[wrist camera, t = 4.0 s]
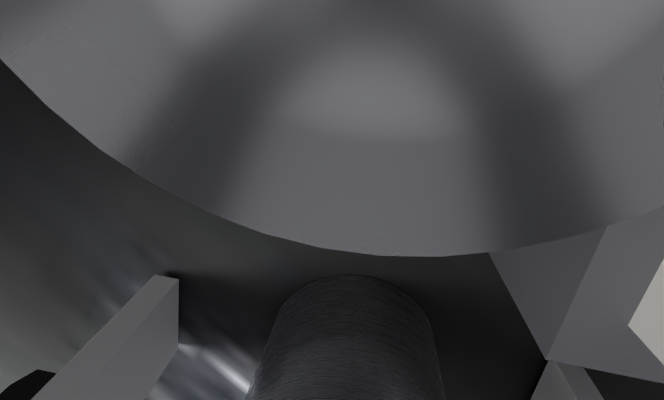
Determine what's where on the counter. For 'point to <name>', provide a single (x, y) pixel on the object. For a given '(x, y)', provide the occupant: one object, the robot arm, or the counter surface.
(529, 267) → the scale
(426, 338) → the cylinder
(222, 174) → the cylinder
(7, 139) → the counter surface
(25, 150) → the counter surface
